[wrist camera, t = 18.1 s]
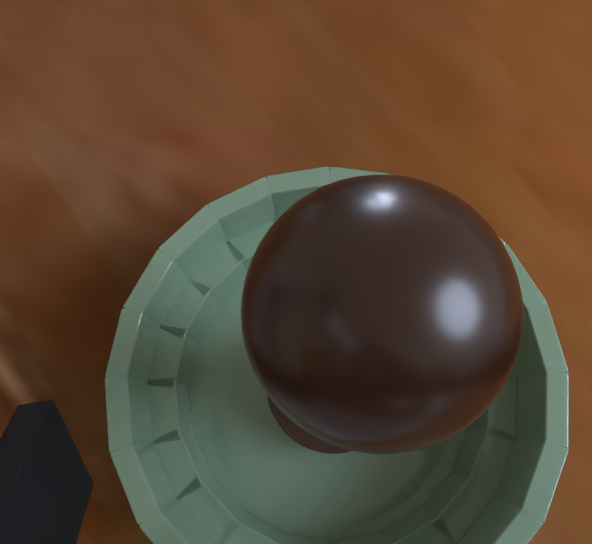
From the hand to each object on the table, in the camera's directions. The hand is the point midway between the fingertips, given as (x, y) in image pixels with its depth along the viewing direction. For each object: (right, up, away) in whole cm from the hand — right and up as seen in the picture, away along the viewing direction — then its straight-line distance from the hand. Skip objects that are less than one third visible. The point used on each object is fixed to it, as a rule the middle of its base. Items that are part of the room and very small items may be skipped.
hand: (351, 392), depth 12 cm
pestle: (0, -2, +10) cm, 10 cm away
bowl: (0, -2, +11) cm, 11 cm away
